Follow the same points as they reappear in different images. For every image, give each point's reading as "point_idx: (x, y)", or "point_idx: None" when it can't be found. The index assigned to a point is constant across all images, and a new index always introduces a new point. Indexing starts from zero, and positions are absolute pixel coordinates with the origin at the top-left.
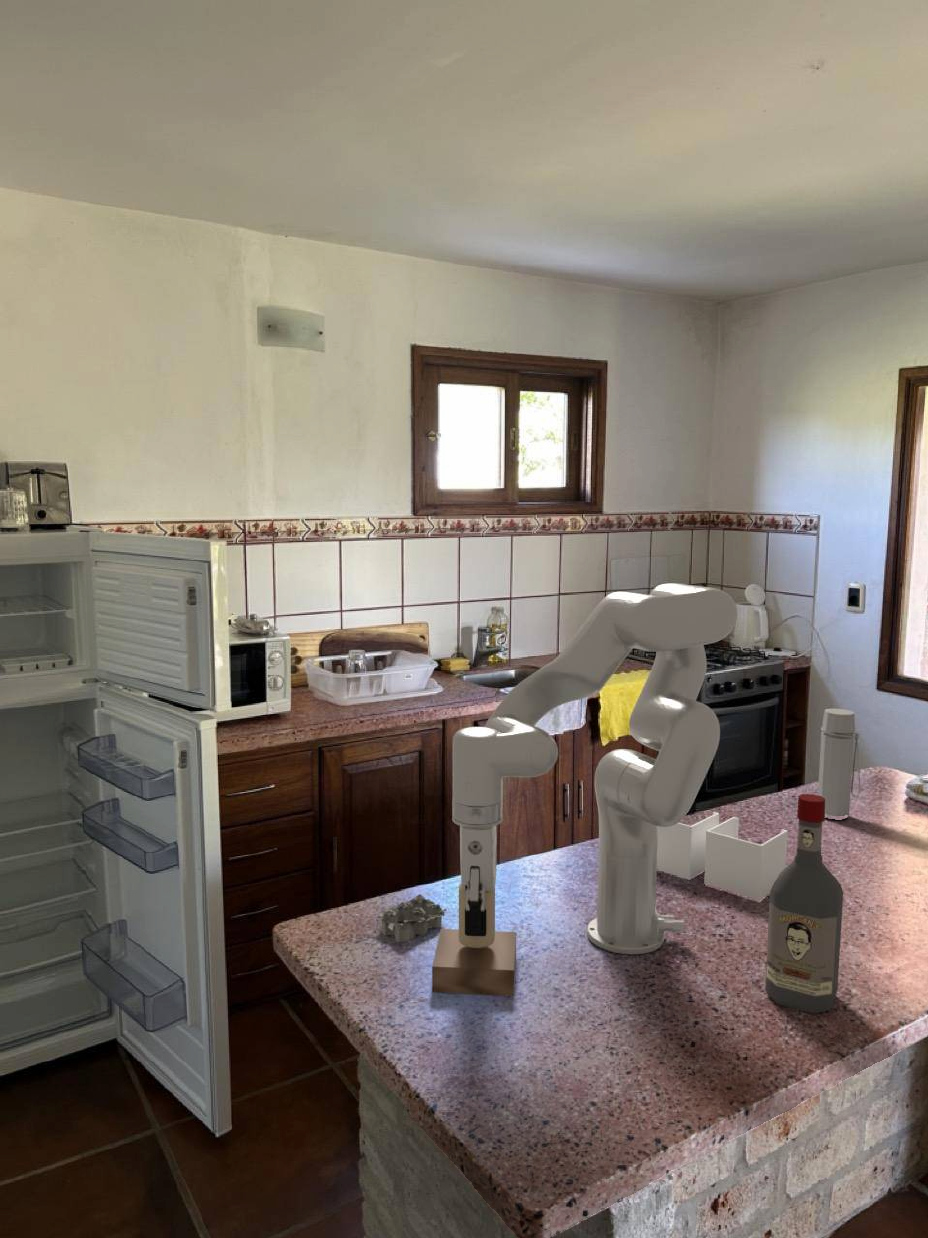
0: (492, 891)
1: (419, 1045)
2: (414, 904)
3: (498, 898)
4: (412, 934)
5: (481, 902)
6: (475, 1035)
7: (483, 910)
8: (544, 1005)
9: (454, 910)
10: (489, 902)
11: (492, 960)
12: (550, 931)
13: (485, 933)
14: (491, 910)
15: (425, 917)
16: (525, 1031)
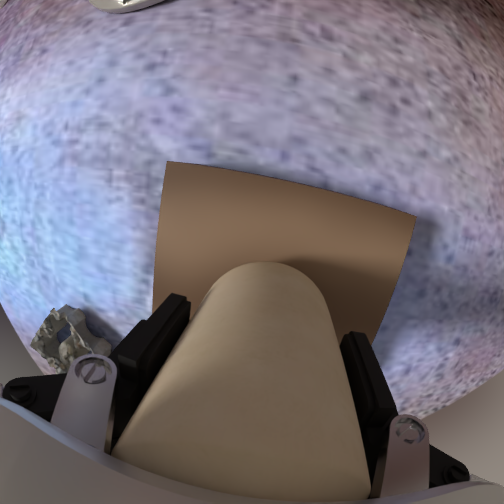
0: (501, 485)
1: (455, 375)
2: (46, 348)
3: (2, 188)
4: None
5: (453, 472)
6: (472, 302)
7: (423, 429)
8: (426, 147)
9: (33, 272)
10: (353, 415)
11: (351, 270)
12: (97, 80)
13: (366, 338)
14: (334, 363)
15: (73, 341)
16: (486, 215)
